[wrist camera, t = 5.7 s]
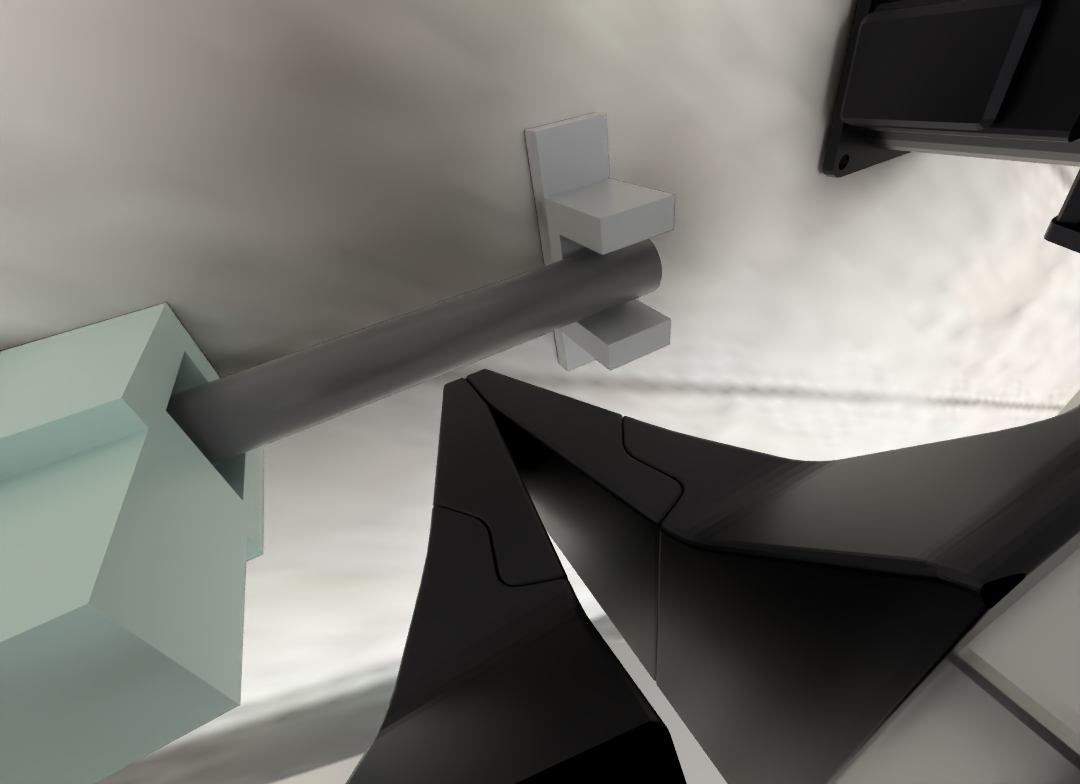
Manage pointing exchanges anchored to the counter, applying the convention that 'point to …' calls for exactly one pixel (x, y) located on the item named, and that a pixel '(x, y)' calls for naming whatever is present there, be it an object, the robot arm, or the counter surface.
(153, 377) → the mint stepped block
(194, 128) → the counter surface
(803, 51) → the counter surface
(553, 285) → the grey angular piece
